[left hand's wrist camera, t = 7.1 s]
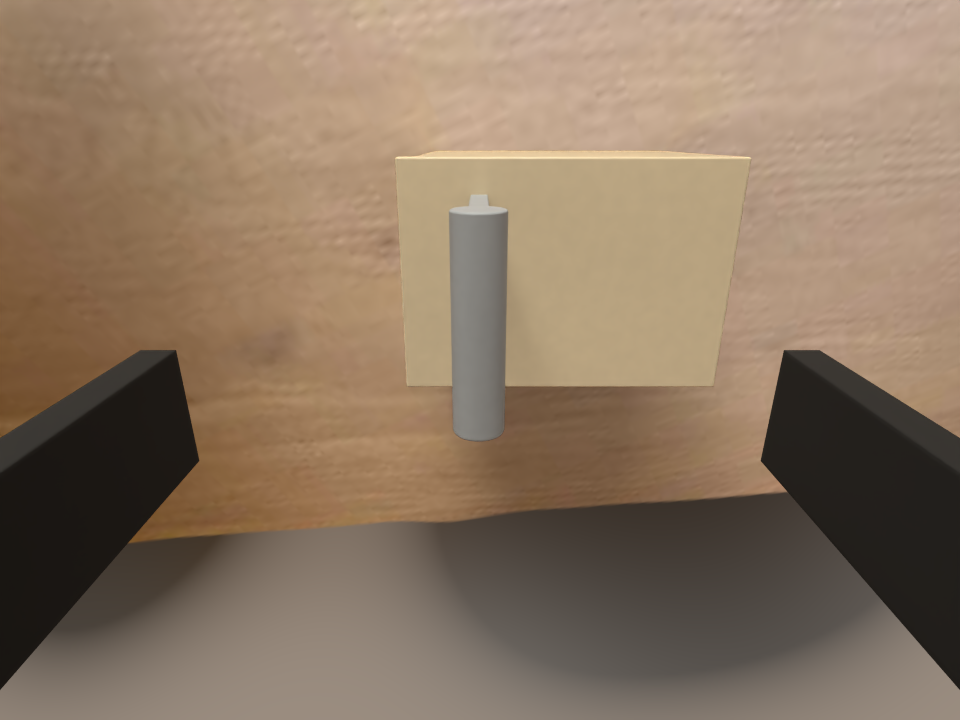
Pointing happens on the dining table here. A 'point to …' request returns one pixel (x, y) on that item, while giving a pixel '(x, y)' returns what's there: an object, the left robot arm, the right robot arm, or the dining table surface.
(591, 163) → the lid
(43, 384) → the dining table surface
